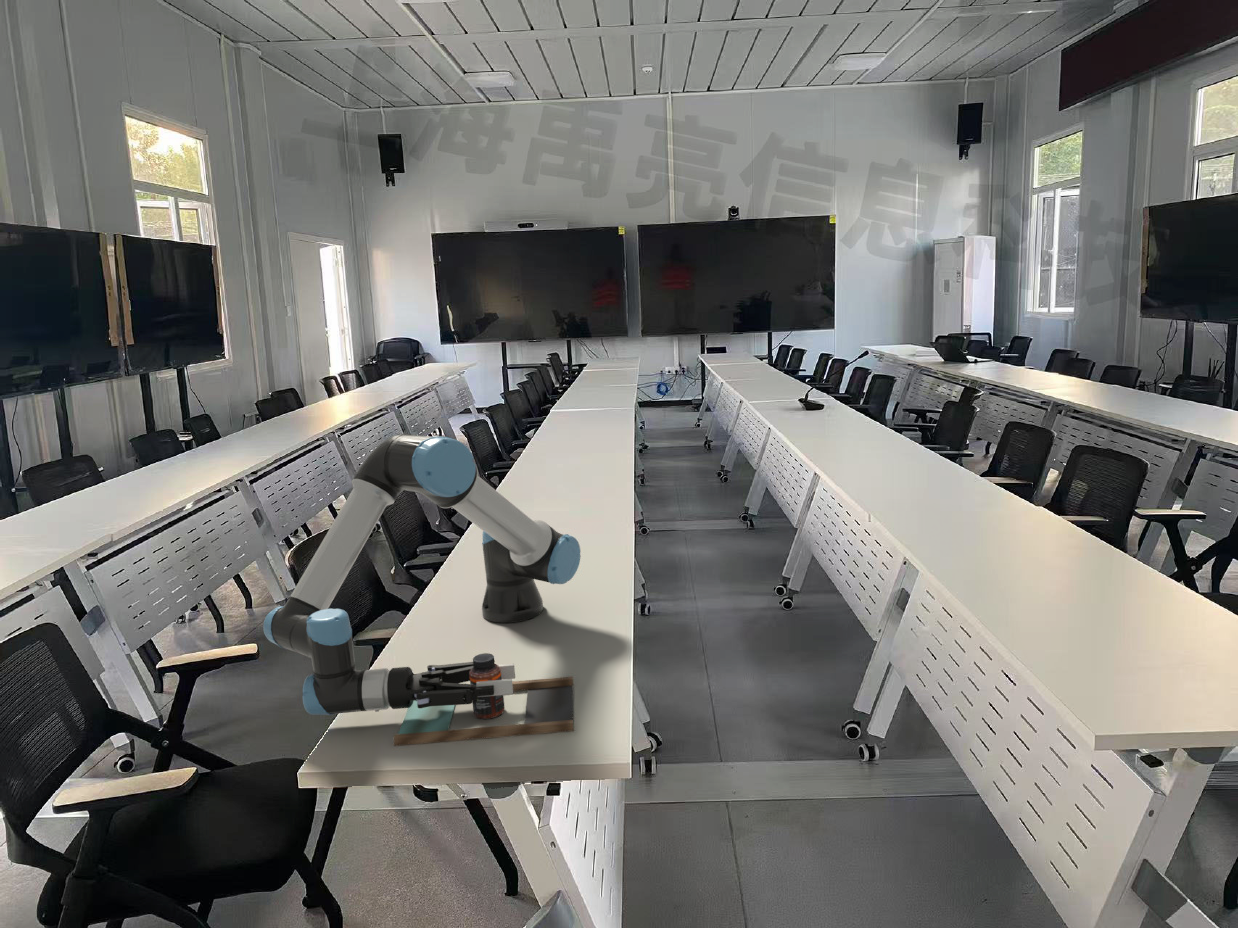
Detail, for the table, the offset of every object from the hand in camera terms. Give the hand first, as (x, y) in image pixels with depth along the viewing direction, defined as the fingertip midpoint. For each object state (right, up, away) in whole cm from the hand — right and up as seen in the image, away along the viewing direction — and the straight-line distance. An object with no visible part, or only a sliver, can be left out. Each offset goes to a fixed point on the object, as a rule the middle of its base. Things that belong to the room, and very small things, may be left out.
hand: (513, 678), depth 163 cm
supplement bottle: (-5, -7, +1) cm, 8 cm away
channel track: (-5, -7, +1) cm, 8 cm away
